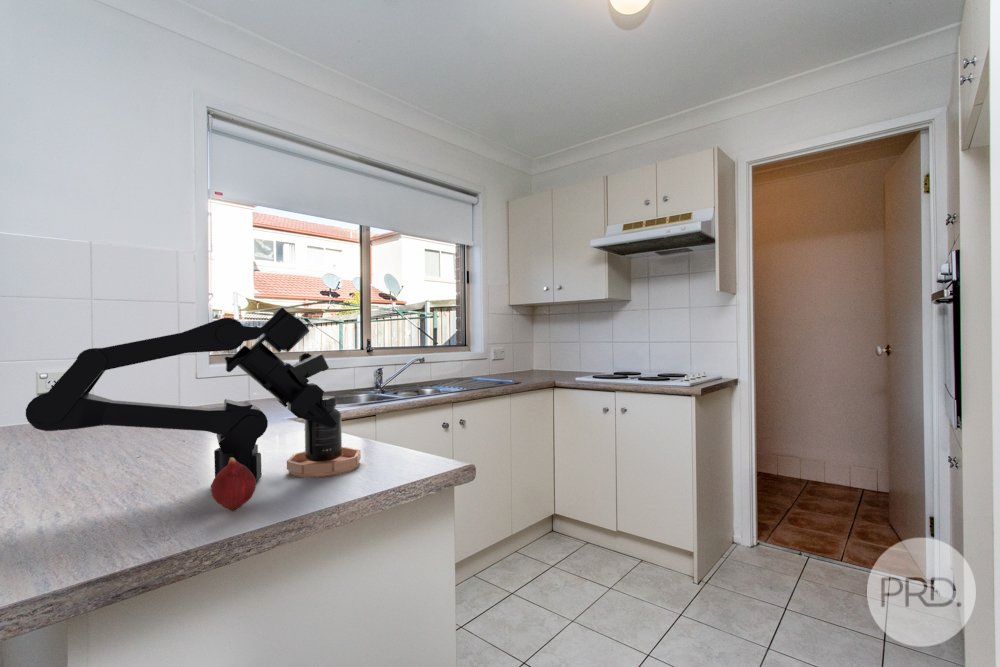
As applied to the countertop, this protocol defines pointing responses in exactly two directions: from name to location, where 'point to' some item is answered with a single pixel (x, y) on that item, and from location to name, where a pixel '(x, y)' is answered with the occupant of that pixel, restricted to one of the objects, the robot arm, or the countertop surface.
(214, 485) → the onion
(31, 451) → the countertop surface
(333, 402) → the supplement bottle
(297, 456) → the terracotta saucer
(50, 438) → the countertop surface
